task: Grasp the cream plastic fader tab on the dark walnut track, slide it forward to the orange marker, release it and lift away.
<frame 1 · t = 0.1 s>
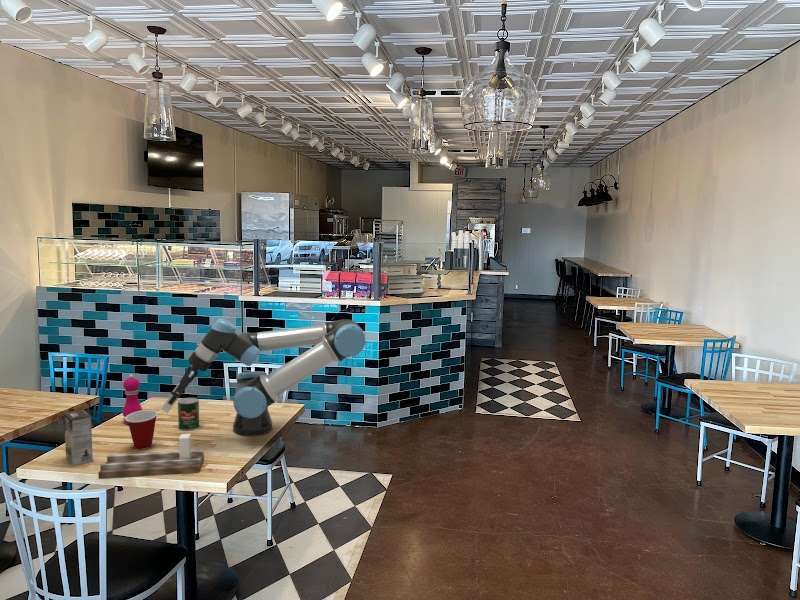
hand: (168, 404, 206), 15 cm above the table, tool tilted 35°, fingers open, 13 cm apart
coffee box: (79, 460, 194), on the table
plastic cup: (142, 447, 207), on the table
canned tomato: (189, 427, 228), on the table
fader tab: (185, 447, 190), point 6 cm above the table, slide at 0.0 cm
fader track: (153, 467, 189), on the table
pepper mill: (132, 422, 232), on the table
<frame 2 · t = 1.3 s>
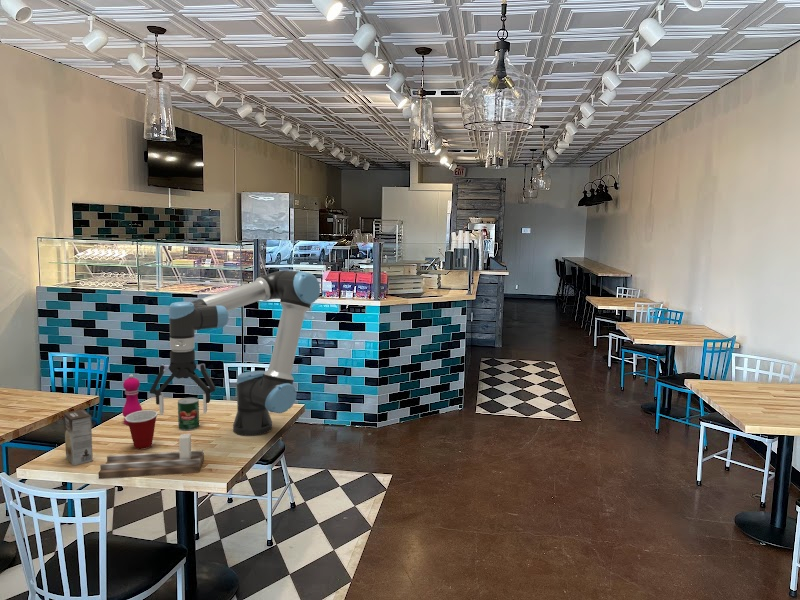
hand: (183, 413, 188), 18 cm above the table, tool pointing down, fingers open, 13 cm apart
nothing on the table moved.
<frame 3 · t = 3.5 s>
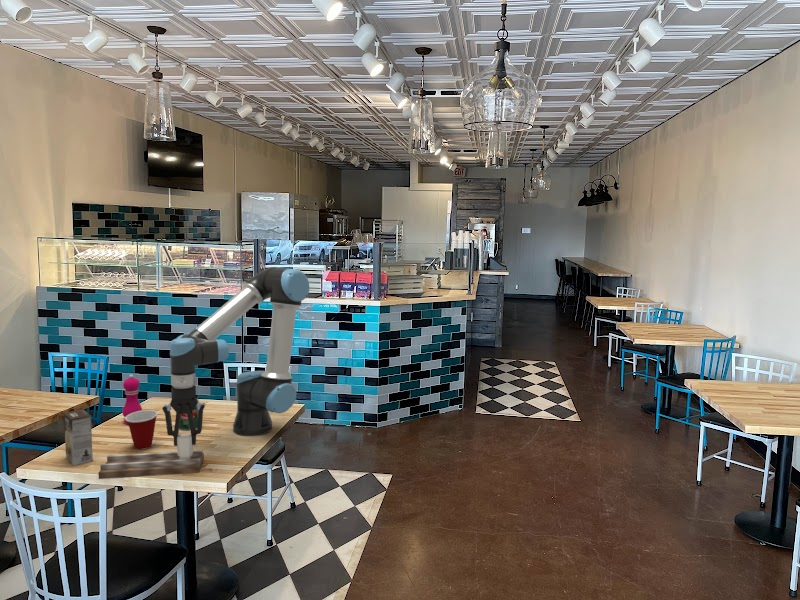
hand: (185, 454, 190), 4 cm above the table, tool pointing down, fingers closed on fader tab, 3 cm apart
fader tab: (185, 447, 190), point 6 cm above the table, slide at 0.0 cm, touching gripper
everything else where it was.
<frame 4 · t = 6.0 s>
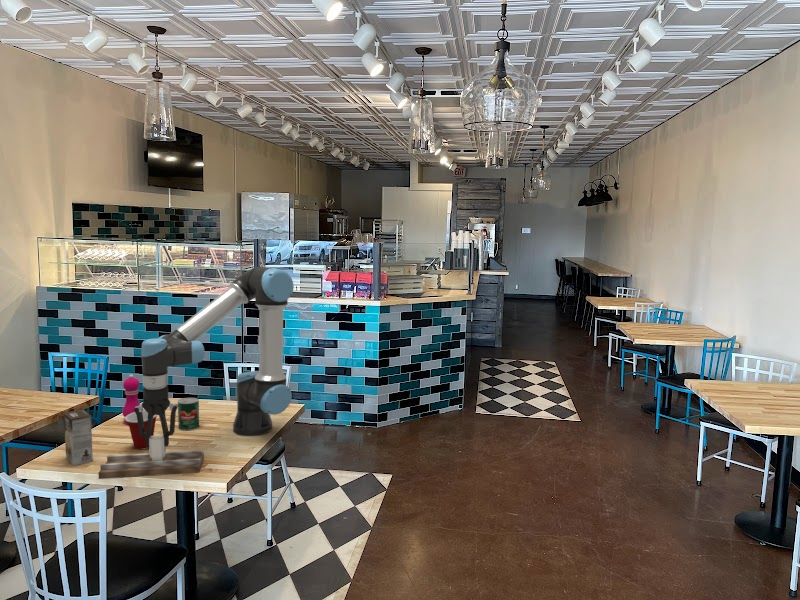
hand: (157, 455, 188), 4 cm above the table, tool pointing down, fingers closed on fader tab, 3 cm apart
fader tab: (157, 449, 188), point 6 cm above the table, slide at 8.6 cm, touching gripper
everything else where it was.
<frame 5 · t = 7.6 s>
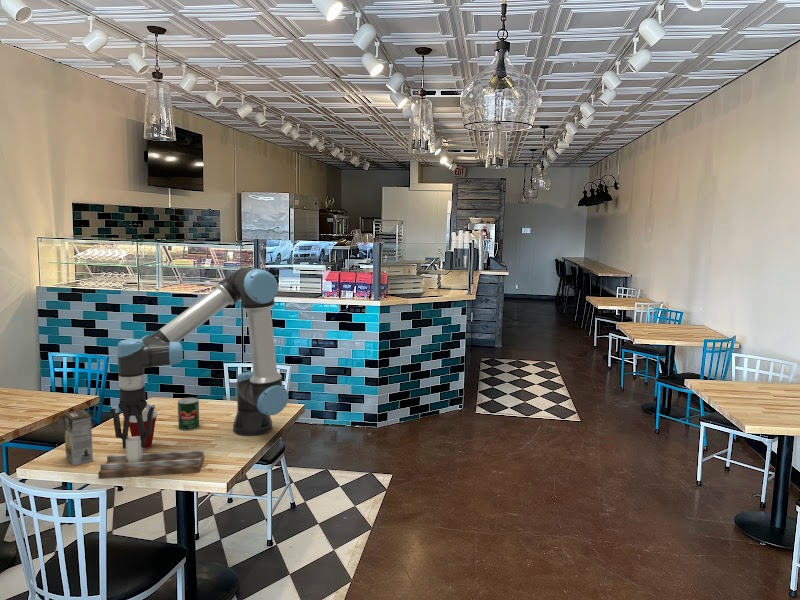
hand: (134, 457, 187), 4 cm above the table, tool pointing down, fingers closed on fader tab, 3 cm apart
fader tab: (134, 450, 187), point 6 cm above the table, slide at 15.7 cm, touching gripper
everything else where it was.
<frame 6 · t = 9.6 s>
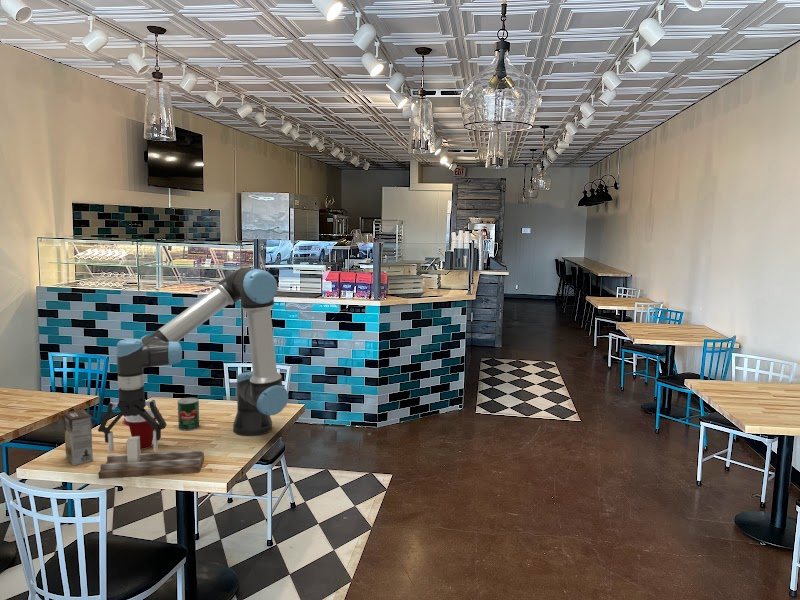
hand: (133, 450, 187), 6 cm above the table, tool pointing down, fingers open, 13 cm apart
fader tab: (133, 450, 187), point 6 cm above the table, slide at 16.0 cm
everything else where it was.
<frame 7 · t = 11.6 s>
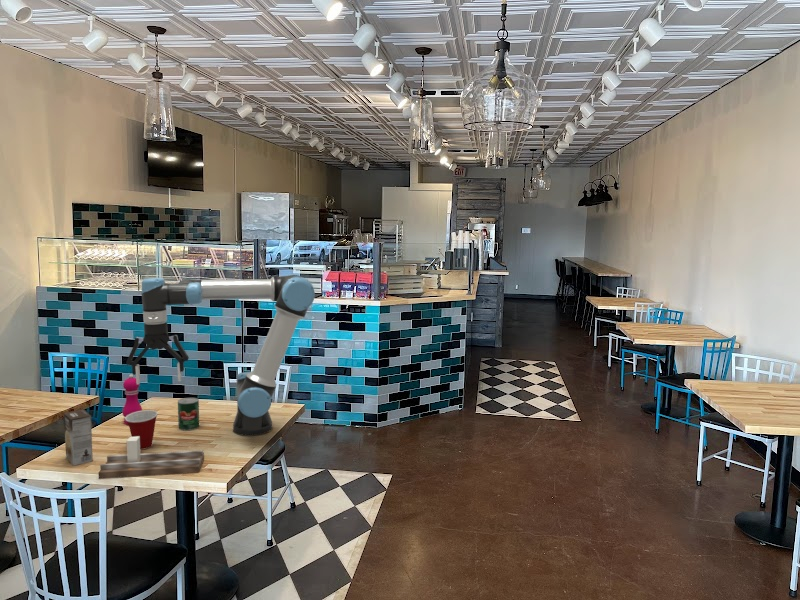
hand: (159, 382, 202), 25 cm above the table, tool pointing down, fingers open, 13 cm apart
nothing on the table moved.
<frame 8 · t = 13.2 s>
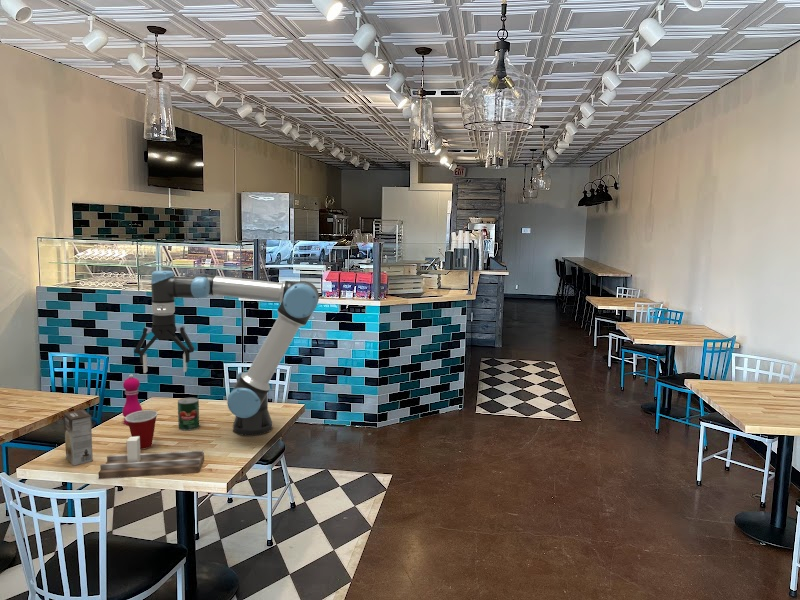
hand: (165, 371, 208), 27 cm above the table, tool pointing down, fingers open, 13 cm apart
nothing on the table moved.
at the end: fader tab slide at 16.0 cm; the gripper is holding nothing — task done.
